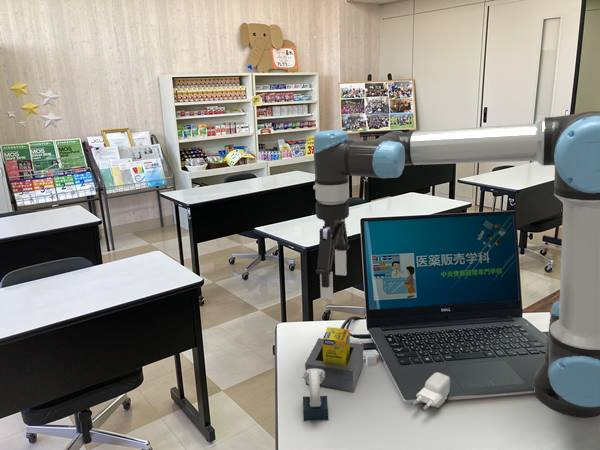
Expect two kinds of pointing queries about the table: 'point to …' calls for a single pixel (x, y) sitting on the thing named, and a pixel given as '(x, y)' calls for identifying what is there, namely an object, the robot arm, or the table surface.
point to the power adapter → (434, 391)
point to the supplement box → (336, 346)
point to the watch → (314, 397)
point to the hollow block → (337, 368)
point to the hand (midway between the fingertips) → (334, 286)
